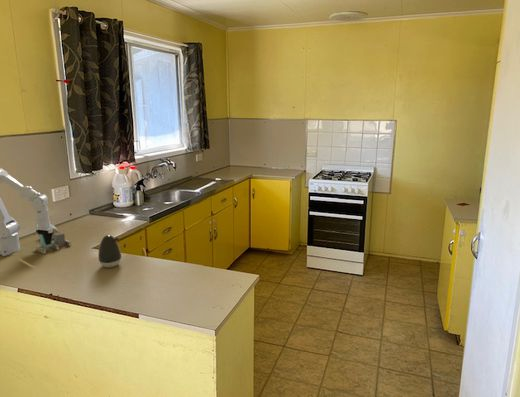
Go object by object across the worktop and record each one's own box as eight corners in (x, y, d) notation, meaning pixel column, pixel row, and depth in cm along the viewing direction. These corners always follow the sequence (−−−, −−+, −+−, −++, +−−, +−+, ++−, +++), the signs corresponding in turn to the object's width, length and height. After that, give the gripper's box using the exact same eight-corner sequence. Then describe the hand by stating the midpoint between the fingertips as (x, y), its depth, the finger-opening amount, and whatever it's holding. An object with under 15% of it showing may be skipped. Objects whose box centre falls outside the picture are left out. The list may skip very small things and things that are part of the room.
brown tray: (44, 255, 198) (43, 249, 197) (36, 251, 203) (35, 245, 202) (71, 247, 209) (70, 241, 208) (63, 243, 214) (62, 238, 213)
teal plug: (44, 248, 200) (42, 235, 198) (41, 246, 202) (39, 234, 201) (52, 246, 203) (50, 233, 201) (48, 244, 205) (47, 232, 204)
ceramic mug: (46, 241, 217) (44, 228, 215) (42, 238, 223) (40, 225, 221) (66, 237, 224) (64, 225, 222) (62, 234, 230) (60, 221, 228)
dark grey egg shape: (115, 270, 180) (111, 239, 176) (94, 268, 182) (91, 238, 178) (126, 262, 189) (123, 232, 186) (107, 260, 191) (104, 231, 188)
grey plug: (58, 248, 206) (56, 235, 204) (54, 246, 208) (52, 234, 206) (65, 245, 209) (64, 233, 207) (62, 244, 211) (60, 232, 209)
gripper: (57, 219, 198) (61, 244, 201) (44, 214, 206) (48, 238, 210) (43, 222, 192) (46, 248, 196) (30, 217, 201) (34, 241, 204)
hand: (46, 243), depth 202 cm, fingers closed on teal plug, 4 cm apart
